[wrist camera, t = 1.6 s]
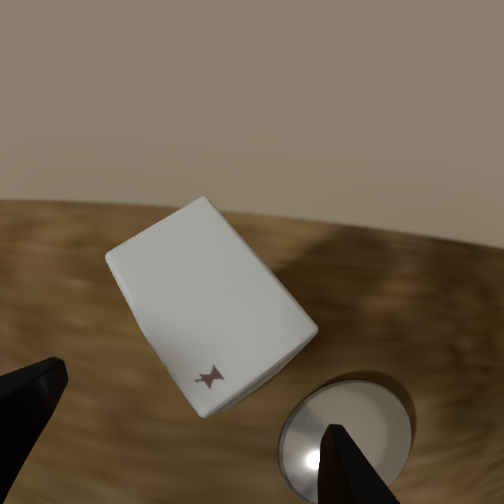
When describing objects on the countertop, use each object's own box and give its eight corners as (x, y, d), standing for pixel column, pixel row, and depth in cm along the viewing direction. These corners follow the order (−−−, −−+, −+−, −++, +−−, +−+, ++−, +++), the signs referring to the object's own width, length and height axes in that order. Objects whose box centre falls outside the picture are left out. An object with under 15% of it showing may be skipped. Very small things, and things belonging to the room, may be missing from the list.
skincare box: (279, 372, 19) (327, 333, 8) (225, 410, 18) (200, 426, 7) (224, 301, 21) (206, 188, 10) (172, 335, 20) (97, 255, 9)
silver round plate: (426, 437, 16) (435, 438, 15) (333, 526, 14) (338, 531, 13) (352, 354, 19) (358, 351, 18) (248, 442, 17) (248, 445, 16)
